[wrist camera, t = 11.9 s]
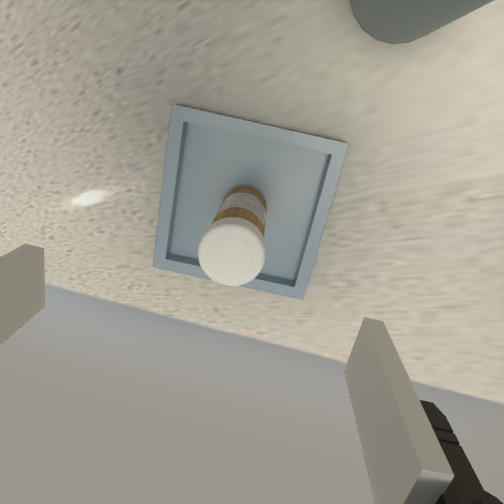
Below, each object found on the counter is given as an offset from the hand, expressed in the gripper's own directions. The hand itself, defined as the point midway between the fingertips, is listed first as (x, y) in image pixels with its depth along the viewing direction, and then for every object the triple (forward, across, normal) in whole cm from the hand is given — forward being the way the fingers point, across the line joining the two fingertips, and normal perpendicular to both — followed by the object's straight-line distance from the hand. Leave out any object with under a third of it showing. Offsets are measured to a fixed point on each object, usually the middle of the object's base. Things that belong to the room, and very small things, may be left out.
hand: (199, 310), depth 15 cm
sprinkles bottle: (+23, 0, -2) cm, 23 cm away
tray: (+23, 0, -2) cm, 24 cm away
